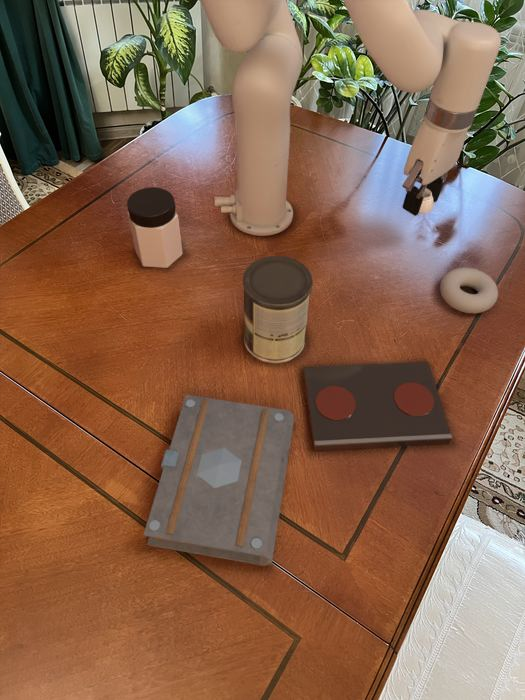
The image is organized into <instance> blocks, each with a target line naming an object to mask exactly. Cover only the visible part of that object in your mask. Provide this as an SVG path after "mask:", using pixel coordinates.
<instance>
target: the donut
mask: <svg viewBox="0 0 525 700" xmlns="http://www.w3.org/2000/svg"><path fill="white" fill-rule="evenodd" d="M497 286H498V285H497V284H496V282H495V281H494V280H493V278H492V277H491V276H490V275H488V274H487V273H486V272H484V271H481V270H479V269H477V268H473V267H458V268H453V269H451V270H450V271H448V272H446V273H445V275H444V276H443V277H442V278H441V280H440V284H439V291H440V295H441V297H442V299H443V301H444V302H445V303H446V304H447V305H449V306H450V308H453V309H454V310H456V311H459V312H462V313H465V314H480V313H485V312H487V311H488V310H490V309H492V308H493V307H494V305H495V304H496V302H497V301H498V298H499V290H498V287H497ZM461 287H468V288H471V289H473V290H474V291H476V293H475V294H473V293H468V292H465V291H464V290H463V289H462V288H461Z"/></svg>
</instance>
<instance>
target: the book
mask: <svg viewBox="0 0 525 700" xmlns="http://www.w3.org/2000/svg"><path fill="white" fill-rule="evenodd" d="M295 417H296V416H295V415H294V414H293V413H292V412H291V410H288V409H282V408H277V407H269V406H262V405H256V404H249V403H244V402H243V403H242V402H237V401H230V400H224V399H217V398H210V397H204V396H197V395H192V394H185V396H184V400H183V402H182V406H181V409H180V413H179V416H178V420H177V423H176V425H175V430H174V432H173V436H172V439H171V443H170V445H169V449H165V451H164V454H163V457H162V460H161V464H160V467H161V471H162V473H161V476H160V478H159V482H158V487H157V489H156V492H155V495H154V499H153V502H152V505H151V509H150V512H149V515H148V519H147V522H146V525H145V528H144V532H143V537H148V539H147V542H146V544H147V545H146V546H150V547H156V548H160V549H161V548H162V549H168V550H173V551H178V552H184V553H189V554H196V555H202V556H206V557H212V558H217V559H223V560H228V561H234V562H238V563H239V562H240V563H246V564H251V565H257V566H262V567H267V566H268V565H272V564H273V559H274V554H275V553H274V552H275V546H276V540H277V534H278V527H279V521H280V515H281V509H282V508H281V507H282V502H283V495H284V489H285V488H284V487H285V483H286V476H287V469H288V462H289V456H290V450H291V444H292V437H293V431H294V430H293V429H294V425H295V419H296V418H295Z"/></svg>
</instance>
